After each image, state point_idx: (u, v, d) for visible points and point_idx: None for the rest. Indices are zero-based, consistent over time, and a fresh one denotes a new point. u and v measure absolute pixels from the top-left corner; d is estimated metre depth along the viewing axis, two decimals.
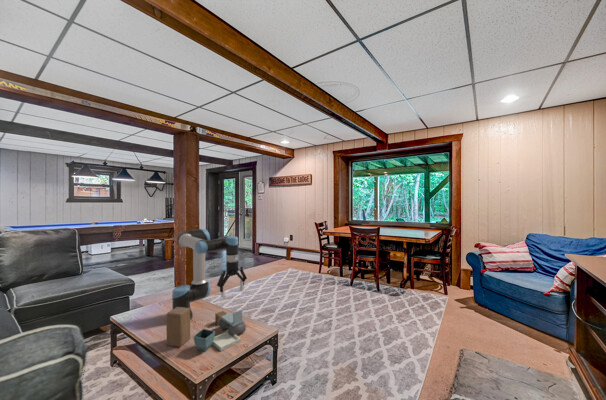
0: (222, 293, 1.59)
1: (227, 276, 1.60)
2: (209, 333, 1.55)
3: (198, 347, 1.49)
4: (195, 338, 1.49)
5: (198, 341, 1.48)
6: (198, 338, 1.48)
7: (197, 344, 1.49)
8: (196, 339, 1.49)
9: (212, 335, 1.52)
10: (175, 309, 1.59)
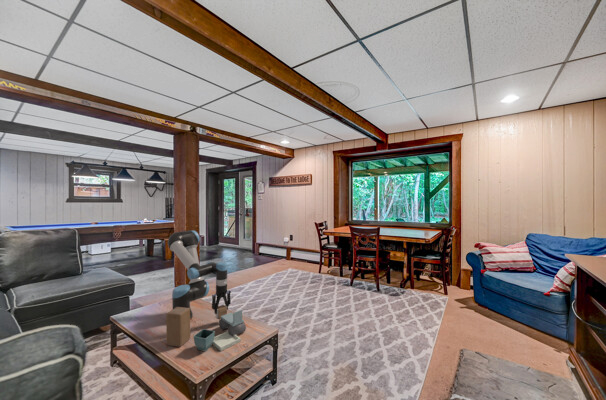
0: (216, 315, 1.79)
1: (218, 299, 1.78)
2: (209, 333, 1.55)
3: (198, 347, 1.49)
4: (195, 338, 1.49)
5: (198, 341, 1.48)
6: (198, 338, 1.48)
7: (197, 344, 1.49)
8: (196, 339, 1.49)
9: (212, 335, 1.52)
10: (175, 309, 1.59)
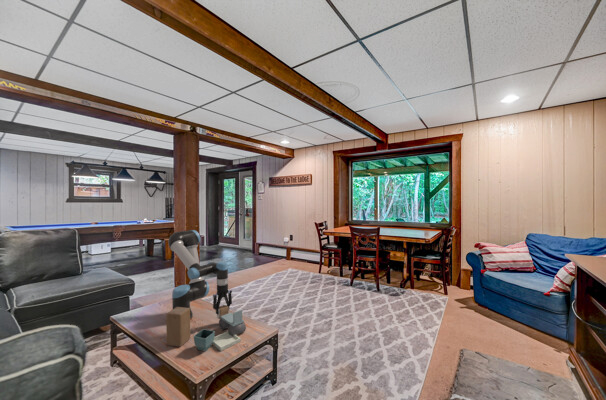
0: (218, 315, 1.78)
1: (219, 299, 1.77)
2: (209, 333, 1.55)
3: (198, 347, 1.49)
4: (195, 338, 1.49)
5: (198, 341, 1.48)
6: (198, 338, 1.48)
7: (197, 344, 1.49)
8: (196, 339, 1.49)
9: (212, 335, 1.52)
10: (175, 309, 1.59)
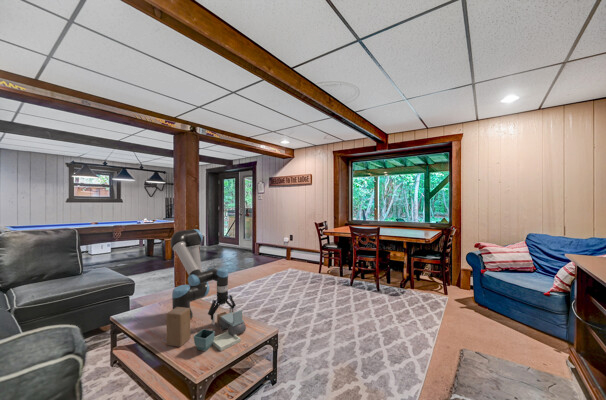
0: (212, 320, 1.76)
1: (217, 305, 1.77)
2: (209, 333, 1.55)
3: (198, 347, 1.49)
4: (195, 338, 1.49)
5: (198, 341, 1.48)
6: (198, 338, 1.48)
7: (197, 344, 1.49)
8: (196, 339, 1.49)
9: (212, 335, 1.52)
10: (175, 309, 1.59)
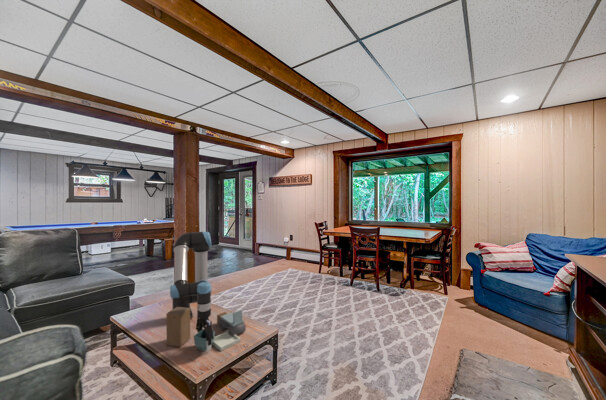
0: None
1: None
2: None
3: (198, 347, 1.49)
4: (195, 338, 1.49)
5: (198, 341, 1.48)
6: (198, 338, 1.48)
7: (197, 344, 1.49)
8: (196, 339, 1.49)
9: None
10: (175, 309, 1.59)
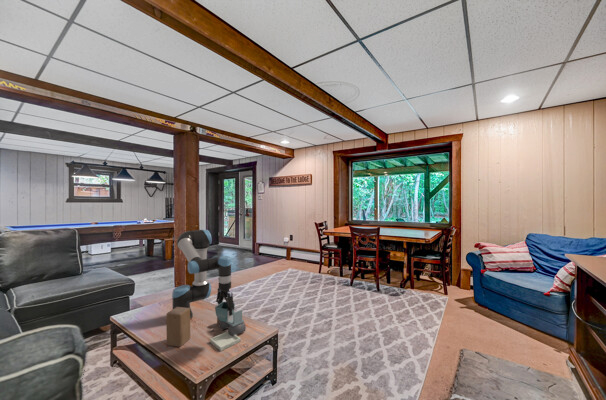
0: None
1: (220, 295, 1.60)
2: None
3: (219, 318, 1.56)
4: (216, 309, 1.55)
5: (219, 312, 1.54)
6: (219, 309, 1.54)
7: (218, 315, 1.55)
8: (217, 310, 1.55)
9: None
10: (175, 309, 1.59)
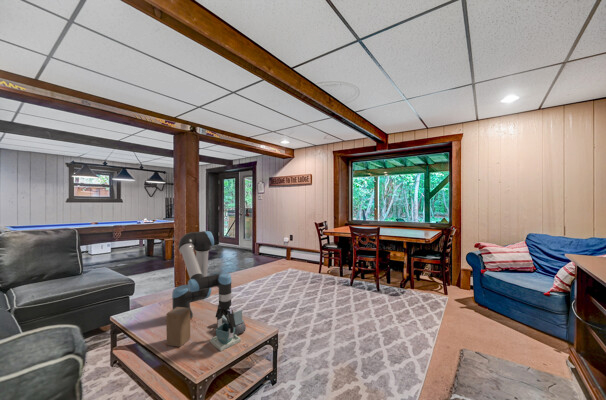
0: None
1: (220, 312, 1.60)
2: None
3: (220, 340, 1.55)
4: (217, 331, 1.55)
5: (220, 334, 1.54)
6: (220, 331, 1.54)
7: (219, 337, 1.55)
8: (218, 332, 1.54)
9: None
10: (175, 309, 1.59)
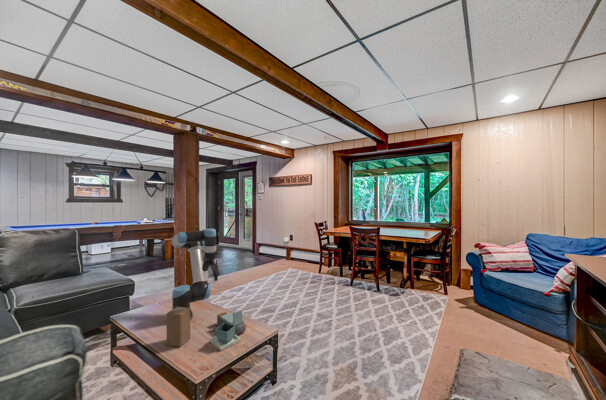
0: None
1: (206, 263, 1.75)
2: (230, 327, 1.61)
3: (220, 340, 1.55)
4: (217, 331, 1.55)
5: (220, 334, 1.54)
6: (220, 331, 1.54)
7: (219, 337, 1.55)
8: (218, 332, 1.54)
9: (233, 329, 1.57)
10: (175, 309, 1.59)
